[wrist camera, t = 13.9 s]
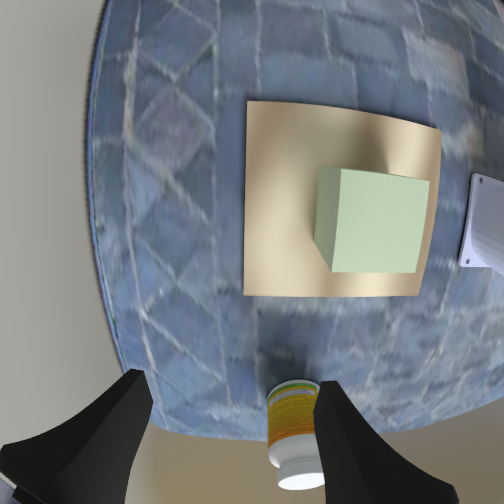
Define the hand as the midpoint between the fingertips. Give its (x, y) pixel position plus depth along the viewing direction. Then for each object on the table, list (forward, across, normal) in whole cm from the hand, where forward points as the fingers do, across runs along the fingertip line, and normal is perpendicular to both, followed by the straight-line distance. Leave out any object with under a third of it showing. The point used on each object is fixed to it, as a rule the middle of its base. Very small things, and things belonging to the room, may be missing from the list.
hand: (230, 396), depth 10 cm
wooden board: (+10, -7, -6) cm, 14 cm away
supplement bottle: (+11, -5, +12) cm, 17 cm away
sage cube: (+10, -7, -6) cm, 14 cm away
